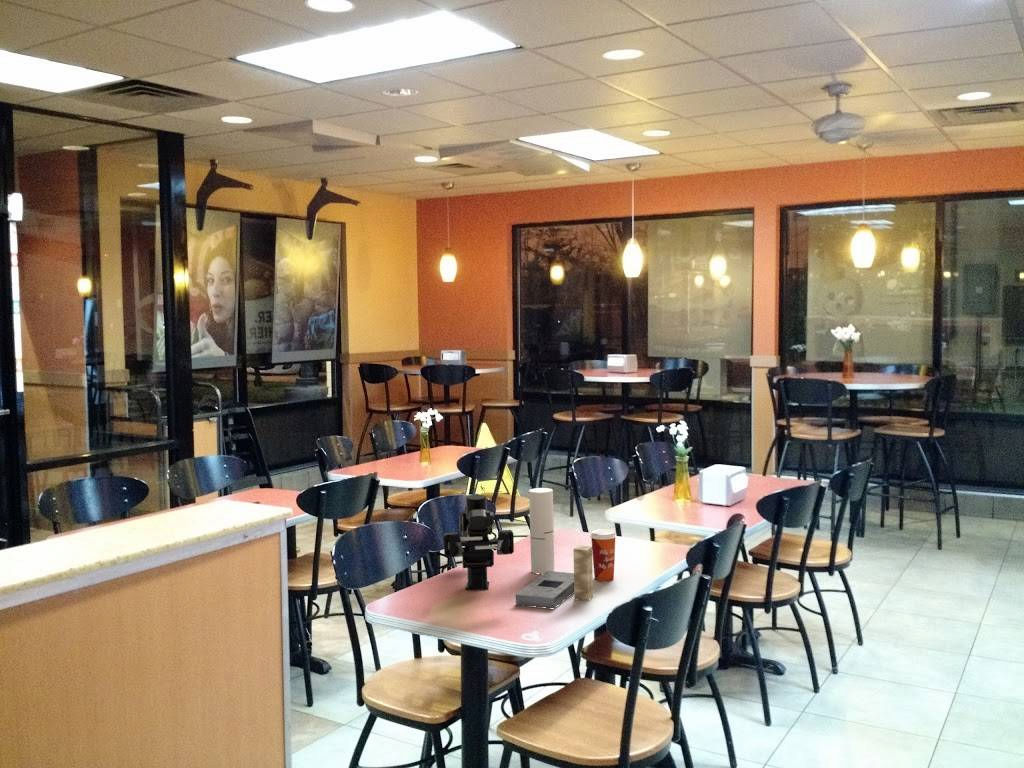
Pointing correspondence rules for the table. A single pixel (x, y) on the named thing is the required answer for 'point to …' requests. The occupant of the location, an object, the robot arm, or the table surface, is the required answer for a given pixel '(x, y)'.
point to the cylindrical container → (541, 530)
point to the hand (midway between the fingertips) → (480, 553)
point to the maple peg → (583, 572)
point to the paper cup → (603, 554)
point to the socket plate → (547, 590)
